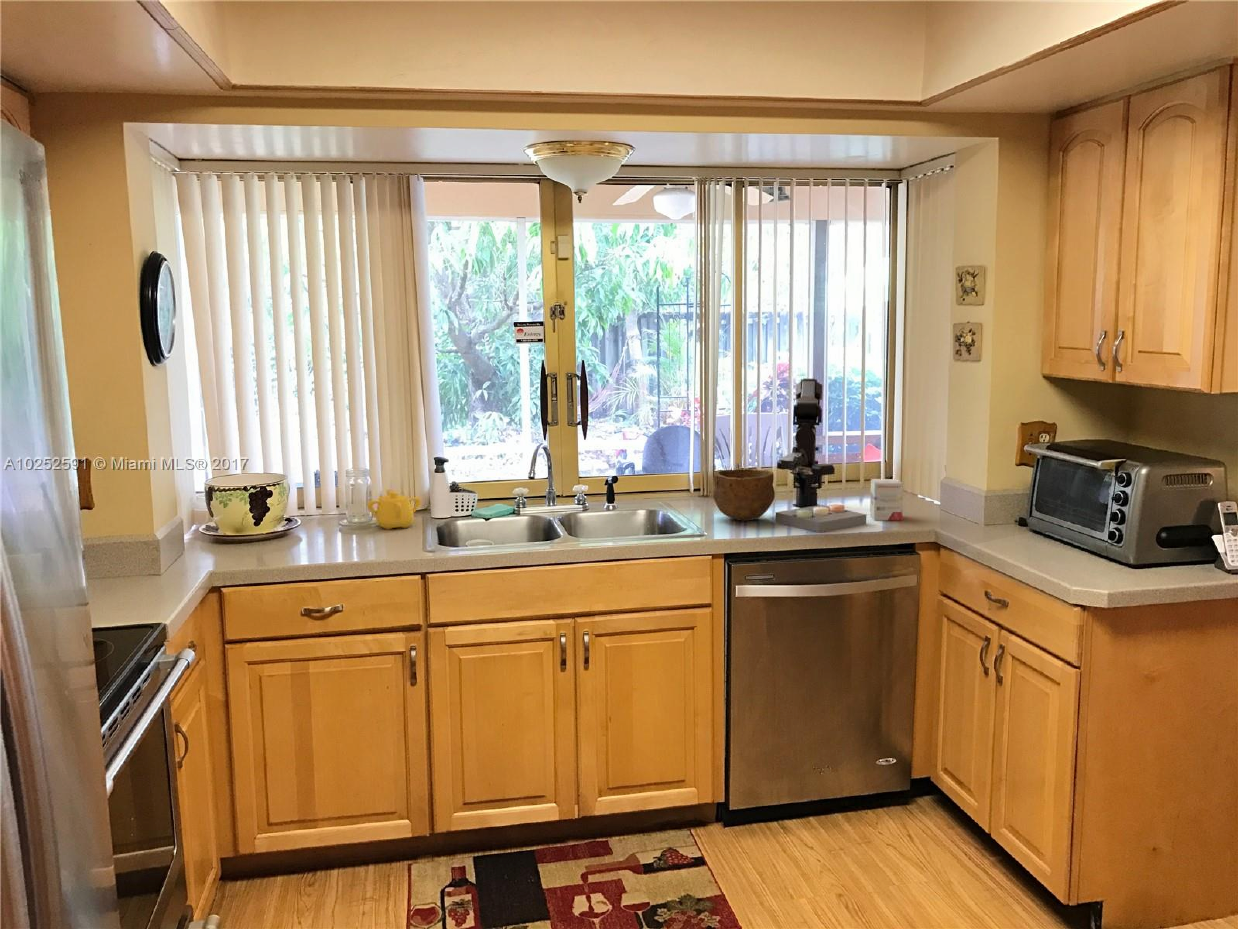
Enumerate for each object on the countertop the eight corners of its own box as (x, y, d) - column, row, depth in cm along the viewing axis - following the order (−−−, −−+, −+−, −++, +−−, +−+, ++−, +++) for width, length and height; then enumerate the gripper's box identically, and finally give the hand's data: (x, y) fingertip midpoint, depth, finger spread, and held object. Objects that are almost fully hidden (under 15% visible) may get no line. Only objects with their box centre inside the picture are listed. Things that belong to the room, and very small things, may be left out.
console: (775, 521, 295) (775, 512, 294) (822, 514, 306) (822, 504, 306) (818, 532, 280) (819, 522, 280) (866, 524, 291) (866, 514, 291)
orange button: (826, 515, 297) (826, 505, 297) (836, 513, 300) (836, 503, 299) (837, 517, 294) (837, 507, 293) (847, 515, 296) (847, 506, 296)
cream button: (810, 517, 293) (810, 508, 293) (820, 516, 296) (820, 506, 295) (820, 520, 290) (821, 510, 289) (831, 518, 292) (831, 508, 292)
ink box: (897, 515, 304) (898, 478, 302) (902, 521, 296) (903, 482, 294) (869, 514, 305) (870, 477, 303) (873, 520, 297) (874, 482, 295)
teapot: (361, 528, 288) (360, 494, 286) (388, 520, 299) (387, 487, 297) (399, 532, 282) (398, 498, 280) (425, 524, 293) (424, 490, 292)
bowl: (702, 522, 294) (703, 473, 292) (725, 511, 311) (726, 465, 308) (761, 528, 286) (762, 478, 283) (782, 517, 302) (783, 469, 300)
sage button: (793, 520, 290) (793, 510, 289) (803, 518, 292) (804, 509, 292) (803, 523, 286) (804, 513, 285) (814, 521, 288) (814, 511, 288)
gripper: (764, 442, 291) (763, 493, 293) (809, 448, 276) (807, 502, 278) (791, 440, 298) (789, 490, 300) (836, 445, 282) (835, 498, 284)
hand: (804, 495), depth 290 cm, fingers closed
